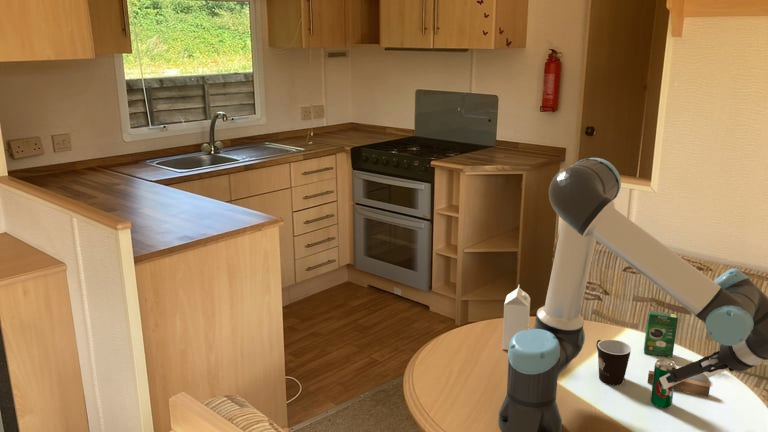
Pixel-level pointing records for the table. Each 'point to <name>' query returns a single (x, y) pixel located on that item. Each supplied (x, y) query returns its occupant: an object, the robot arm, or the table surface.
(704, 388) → the rail
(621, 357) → the coffee mug
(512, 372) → the robot arm
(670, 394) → the soda can
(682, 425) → the table surface
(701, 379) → the grey domed button
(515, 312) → the milk carton
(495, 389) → the table surface
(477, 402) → the table surface
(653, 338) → the coffee box
